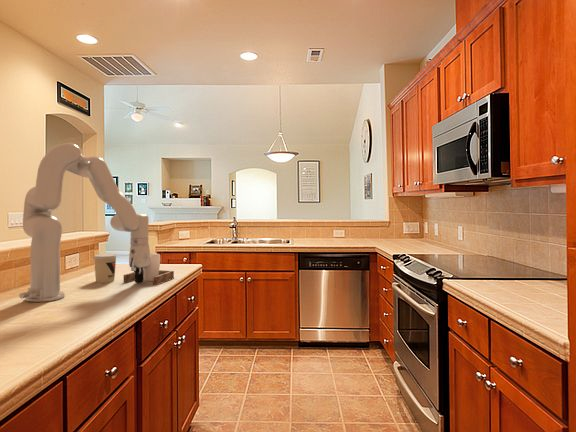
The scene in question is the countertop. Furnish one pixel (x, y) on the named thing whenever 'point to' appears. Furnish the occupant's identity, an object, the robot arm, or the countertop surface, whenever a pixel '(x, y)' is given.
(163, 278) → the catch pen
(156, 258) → the cup
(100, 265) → the coffee cup
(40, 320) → the countertop surface
